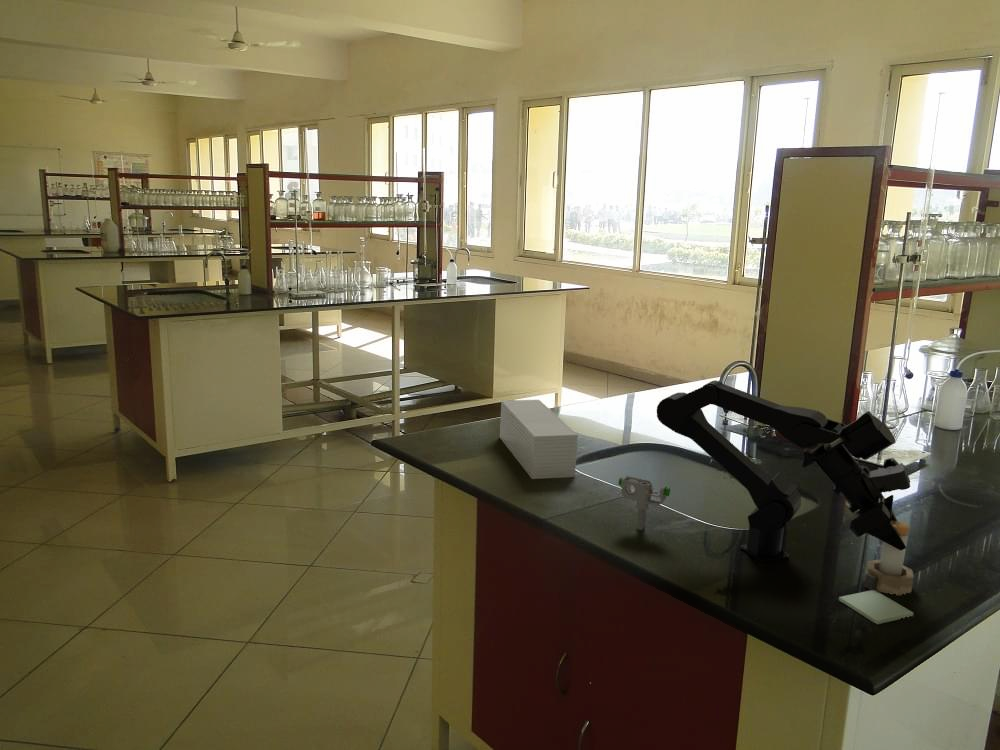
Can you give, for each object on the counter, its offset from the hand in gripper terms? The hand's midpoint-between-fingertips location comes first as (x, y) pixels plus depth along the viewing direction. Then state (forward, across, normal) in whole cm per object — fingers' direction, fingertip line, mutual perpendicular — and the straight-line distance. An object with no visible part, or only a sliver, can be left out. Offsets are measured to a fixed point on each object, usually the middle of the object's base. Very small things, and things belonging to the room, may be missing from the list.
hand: (903, 544), depth 136 cm
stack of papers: (-53, +28, +66) cm, 89 cm away
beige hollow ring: (+5, 0, +7) cm, 8 cm away
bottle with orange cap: (+4, 0, +6) cm, 7 cm away
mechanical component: (-27, -1, +39) cm, 47 cm away
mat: (+4, -10, +8) cm, 13 cm away
